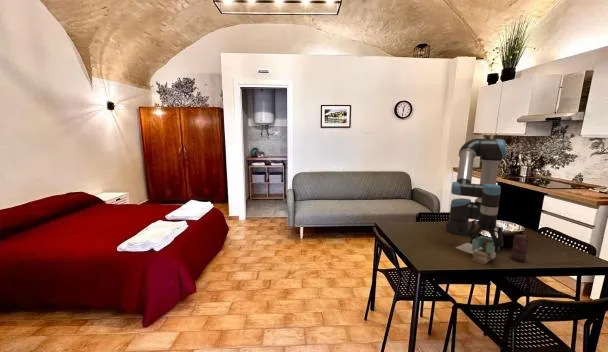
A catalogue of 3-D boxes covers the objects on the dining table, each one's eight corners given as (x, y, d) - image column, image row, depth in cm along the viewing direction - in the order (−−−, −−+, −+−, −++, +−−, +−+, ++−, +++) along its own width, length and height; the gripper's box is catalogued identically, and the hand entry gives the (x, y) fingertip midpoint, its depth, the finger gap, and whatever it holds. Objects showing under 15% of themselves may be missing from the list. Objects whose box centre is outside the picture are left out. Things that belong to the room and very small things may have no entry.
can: (528, 261, 140) (532, 236, 137) (520, 263, 138) (524, 238, 136) (516, 256, 145) (520, 232, 143) (508, 257, 144) (511, 233, 141)
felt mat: (466, 243, 163) (466, 242, 163) (492, 251, 151) (492, 251, 151) (455, 248, 155) (455, 247, 155) (480, 257, 144) (480, 256, 143)
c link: (480, 244, 147) (481, 235, 146) (499, 250, 139) (500, 241, 139) (472, 247, 142) (473, 238, 141) (491, 254, 135) (492, 244, 134)
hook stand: (483, 255, 146) (486, 235, 145) (493, 258, 142) (496, 238, 140) (472, 260, 139) (474, 240, 138) (482, 264, 135) (485, 243, 133)
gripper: (463, 209, 143) (458, 247, 147) (510, 220, 125) (503, 264, 129) (469, 207, 147) (465, 245, 151) (516, 218, 129) (510, 260, 133)
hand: (483, 253), depth 140 cm, fingers closed on c link, 9 cm apart
